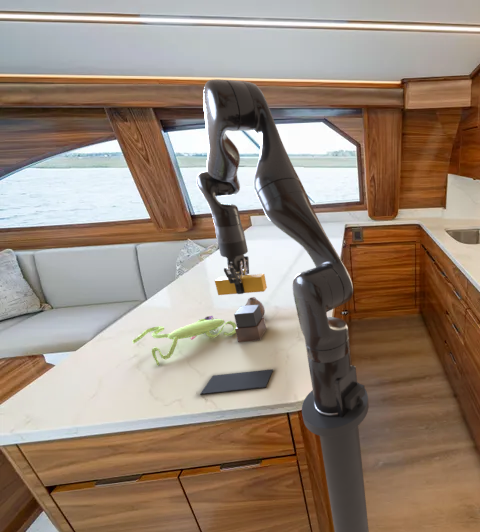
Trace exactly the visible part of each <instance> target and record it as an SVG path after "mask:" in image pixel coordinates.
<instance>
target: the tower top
mask: <svg viewBox="0 0 480 532" xmlns="http://www.w3.org/2000/svg"><path fill="white" fill-rule="evenodd" d="M233 316H234V321H235V324H236V326H237V328H242V327H253V326H257V324H258V323H259V321H260V320H261V318H262V316H261V311H260V306H259V305H248V306H245V305H240V306H239V308H238V309H237V310H236V311H235V313H234V314H233Z"/></svg>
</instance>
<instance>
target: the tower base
mask: <svg viewBox="0 0 480 532" xmlns="http://www.w3.org/2000/svg"><path fill="white" fill-rule="evenodd" d="M265 321H266V320H265V317H264V316H263V317H262V318H261V320H260V321H259V323H258V324H257V326H253V327H242V328H237V327H236V328H235V331H236V333H235V334H236V339H237V342H238V343H243V342H252V341H253V342H254V341H261V339H263V338H262V337H263V336H264V335H265V332H266V331H267V325H266V322H265Z"/></svg>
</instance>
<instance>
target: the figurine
mask: <svg viewBox="0 0 480 532" xmlns="http://www.w3.org/2000/svg"><path fill="white" fill-rule="evenodd" d="M226 325H231V326H232V331H231V332H226V331H224V332H223V335H224V336H227V337H231V336H233V335H235V334H236V331H235V328H236V327H237V325H236V322H234V321H232V320H229V321H226V322H225V320H224V319H222V318H214V316H213V315H209V316H205V317H203V318H201V319H198V320H197V321H195V322H193V323H189V324H187V325H184V326H182V327H179V328H177V329H174V330H173V331H172V332H170V333H161V332H163V331H164V330H165V326H162V325H159V326H158V325H157V326H153V327H150V328H147V329H145V330H144V331H143V332H142V333H141V334H139V335H138V336H136V337H135V338H134V339H132V340H131V341H132V344H136V343H137V342H139V341H140V340H142V339H143V338H144V337H145V336H147V334H149V333H151V337H153V339H165V338H167V339H169V340H172V344H171V346H170V347H169V351H168V352H167V354H165V355H164V354H163V353H162V352H161V350H160V348H158V347H157V346H155V347H153V348H151V355H152V358H153V359H154V361H155V363H156V365H157V366H160V362H159V360H158V358H157V355H156V351H158V353H159V356H160V358H161V359H163V360H168V359H170V358H171V356H172V355H173V354H174V352H175V350H176V348H177V345H178V341H179V340H183V339H189V338H190V341H191V340H192V341H193V340H194V339H196V337H198V336H200V335H203V334H205V335H206V337H208V338H212V339H214V338H216V337H218V336H219V335H220V334H221V333H222V331H223V330H224V329H225V326H226ZM221 326H222V327H221ZM220 327H221V329H220V330H219V328H220ZM211 332H214V333H216V334H212V333H211ZM159 333H160V334H159Z"/></svg>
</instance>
